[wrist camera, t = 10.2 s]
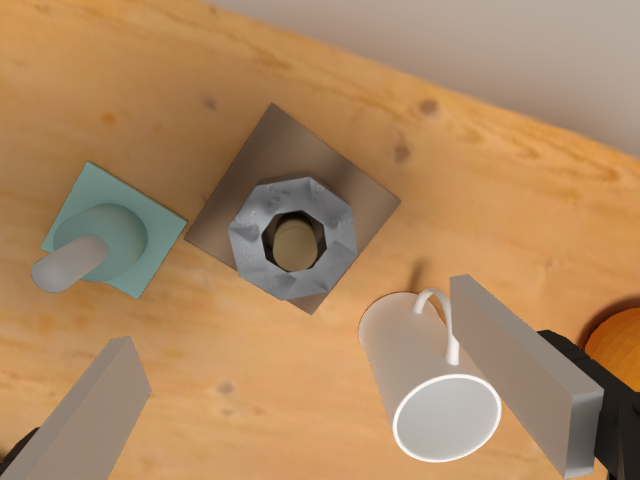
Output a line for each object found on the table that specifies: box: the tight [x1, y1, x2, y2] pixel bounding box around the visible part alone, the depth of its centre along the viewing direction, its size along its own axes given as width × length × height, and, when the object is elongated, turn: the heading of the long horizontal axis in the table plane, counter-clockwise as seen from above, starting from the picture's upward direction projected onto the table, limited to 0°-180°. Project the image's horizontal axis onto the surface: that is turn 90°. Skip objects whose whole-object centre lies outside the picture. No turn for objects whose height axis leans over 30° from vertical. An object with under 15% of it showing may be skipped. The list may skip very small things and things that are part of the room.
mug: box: [358, 288, 501, 462], centre depth 31 cm, size 12×8×12 cm
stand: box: [31, 161, 188, 299], centre depth 27 cm, size 9×9×9 cm
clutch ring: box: [227, 171, 358, 300], centre depth 27 cm, size 9×9×3 cm
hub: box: [184, 103, 401, 315], centre depth 28 cm, size 14×14×8 cm
